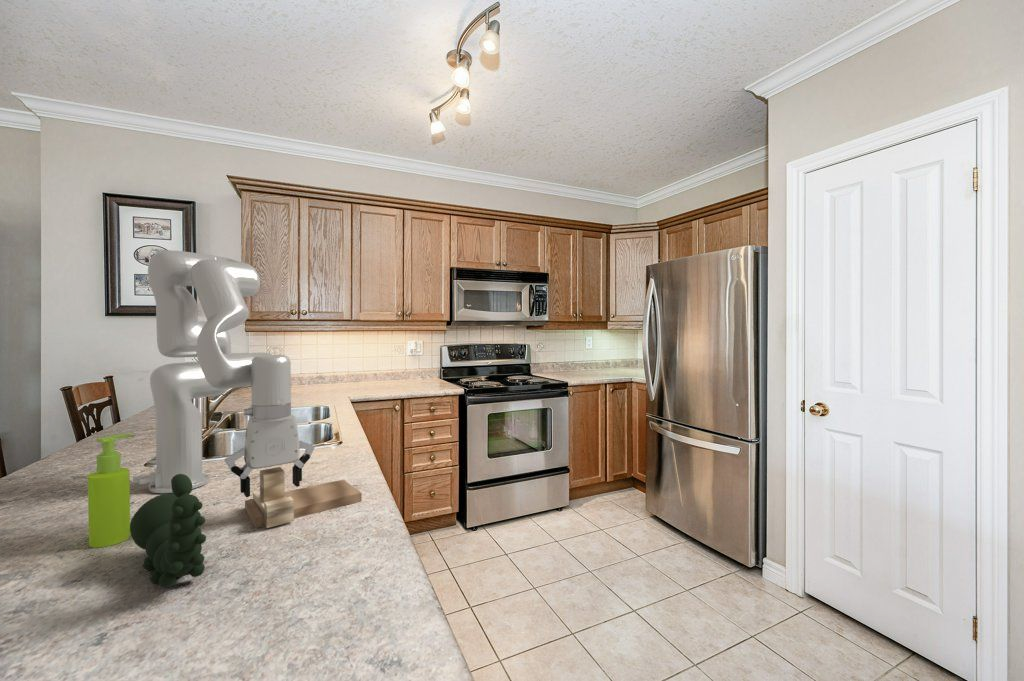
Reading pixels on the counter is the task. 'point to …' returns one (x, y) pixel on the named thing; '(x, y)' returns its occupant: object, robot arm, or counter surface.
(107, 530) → the soap dispenser
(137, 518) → the toy figurine
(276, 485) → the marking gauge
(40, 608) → the counter surface
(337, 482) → the walnut board
